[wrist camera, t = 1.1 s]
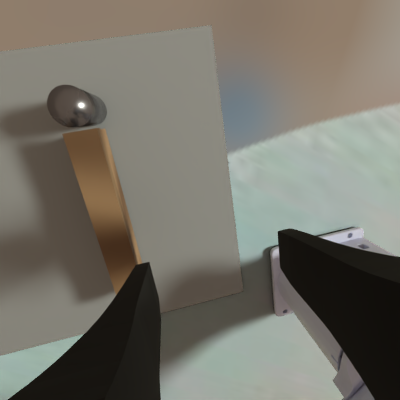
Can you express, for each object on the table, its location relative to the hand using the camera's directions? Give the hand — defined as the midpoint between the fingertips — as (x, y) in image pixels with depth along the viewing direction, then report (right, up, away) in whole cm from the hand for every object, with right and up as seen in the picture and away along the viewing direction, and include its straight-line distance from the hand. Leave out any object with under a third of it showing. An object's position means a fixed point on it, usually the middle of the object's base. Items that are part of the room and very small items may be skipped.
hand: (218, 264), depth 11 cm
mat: (-10, +2, +8) cm, 13 cm away
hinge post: (-8, +9, +6) cm, 14 cm away
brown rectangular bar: (-7, +2, +8) cm, 10 cm away
